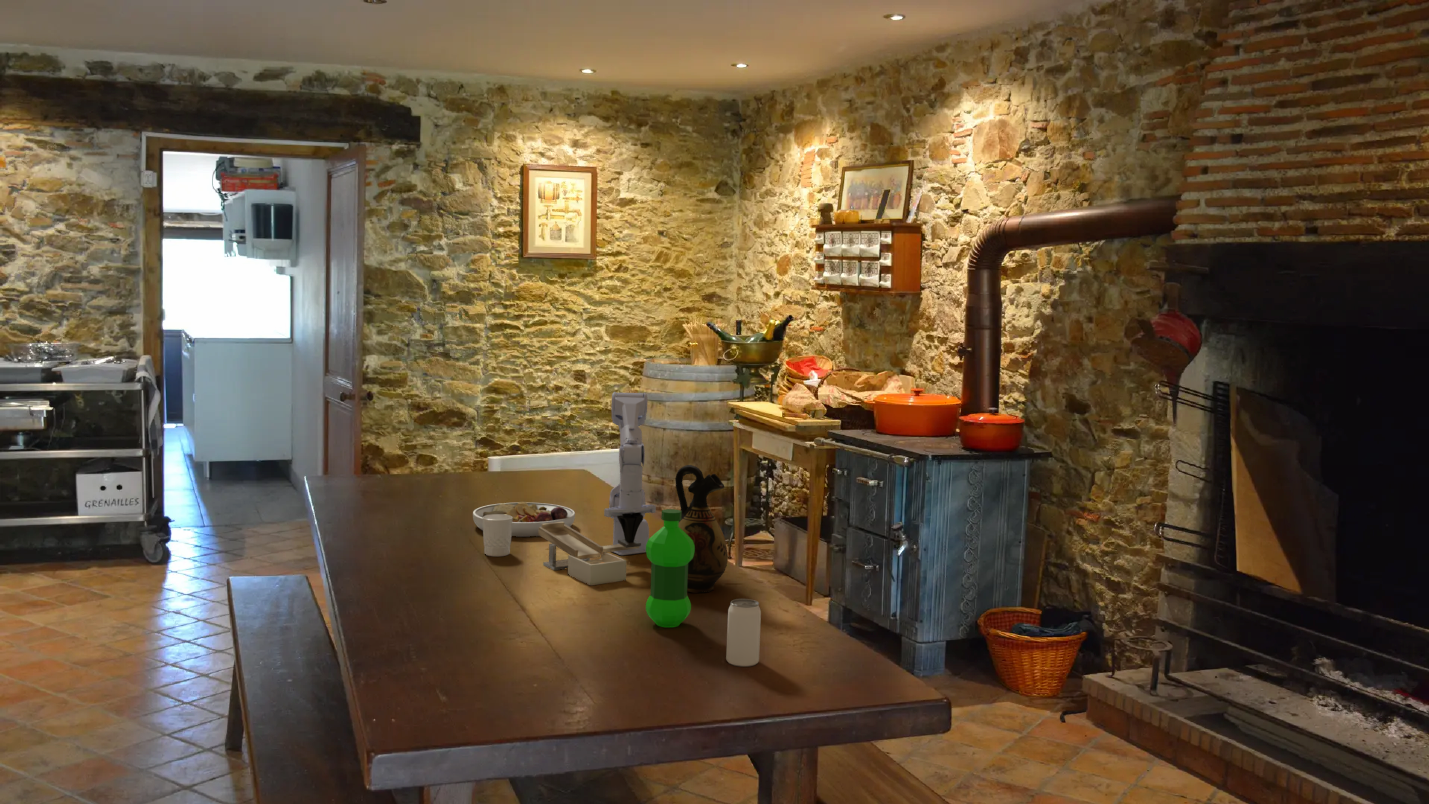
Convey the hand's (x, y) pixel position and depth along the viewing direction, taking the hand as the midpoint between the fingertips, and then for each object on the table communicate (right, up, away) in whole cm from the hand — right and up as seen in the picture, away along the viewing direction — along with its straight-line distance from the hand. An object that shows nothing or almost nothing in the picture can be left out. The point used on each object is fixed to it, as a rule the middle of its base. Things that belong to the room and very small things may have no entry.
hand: (629, 542), depth 291 cm
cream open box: (-7, -8, -11) cm, 15 cm away
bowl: (-35, -2, +44) cm, 56 cm away
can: (+28, -15, -70) cm, 77 cm away
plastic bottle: (+12, -12, -47) cm, 50 cm away
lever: (-11, -1, +3) cm, 11 cm away
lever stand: (-16, -6, +1) cm, 17 cm away
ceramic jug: (+17, -9, -16) cm, 25 cm away
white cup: (-36, -5, +10) cm, 38 cm away
